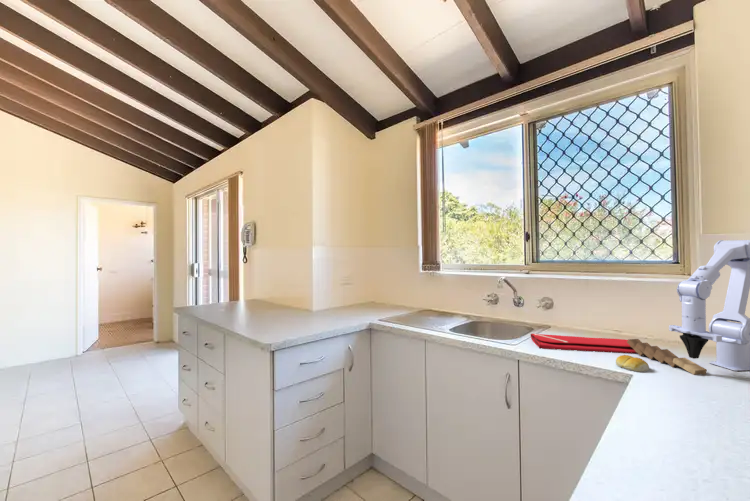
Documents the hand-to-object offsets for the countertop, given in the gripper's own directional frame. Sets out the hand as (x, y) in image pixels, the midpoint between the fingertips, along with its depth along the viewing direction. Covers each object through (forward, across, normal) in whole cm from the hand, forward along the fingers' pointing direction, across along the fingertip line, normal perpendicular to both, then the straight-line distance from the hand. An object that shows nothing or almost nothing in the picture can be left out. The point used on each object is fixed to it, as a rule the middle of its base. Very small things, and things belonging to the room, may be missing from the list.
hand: (693, 357), depth 108 cm
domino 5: (+4, +2, 0) cm, 5 cm away
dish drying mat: (+6, -32, -12) cm, 35 cm away
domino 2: (+4, -12, 0) cm, 13 cm away
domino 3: (+4, -8, 0) cm, 9 cm away
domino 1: (+4, -16, 0) cm, 17 cm away
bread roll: (+5, -7, -16) cm, 18 cm away
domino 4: (+4, -5, 0) cm, 6 cm away
